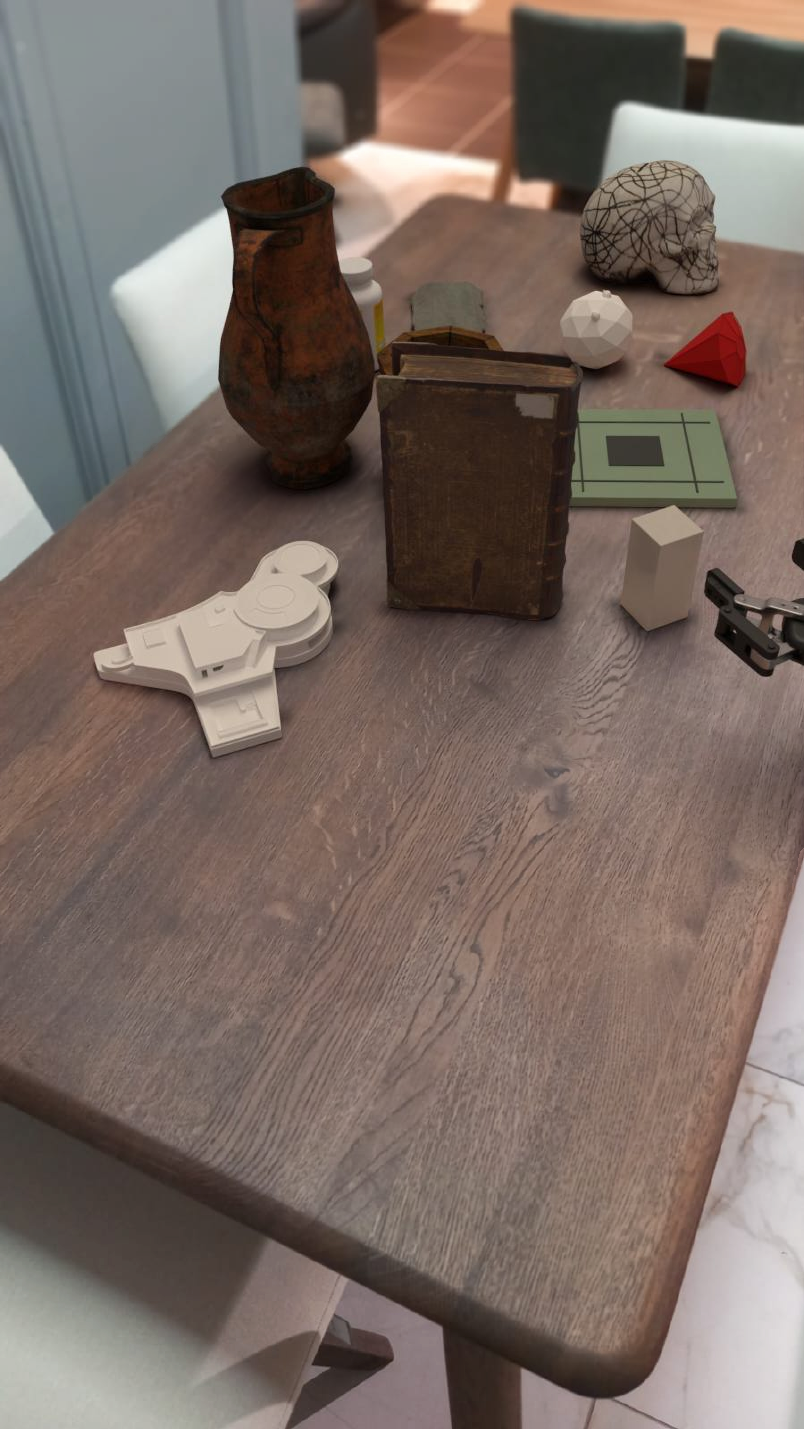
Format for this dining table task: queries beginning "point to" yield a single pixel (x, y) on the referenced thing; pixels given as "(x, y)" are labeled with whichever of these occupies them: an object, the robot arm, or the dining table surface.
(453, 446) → the book
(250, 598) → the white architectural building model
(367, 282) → the supplement bottle
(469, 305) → the stone slab
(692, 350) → the gemstone
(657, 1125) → the dining table surface
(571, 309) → the decorative ball
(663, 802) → the dining table surface
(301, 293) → the pitcher
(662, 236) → the sculpture
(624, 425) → the grid board
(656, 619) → the beige rectangular block
